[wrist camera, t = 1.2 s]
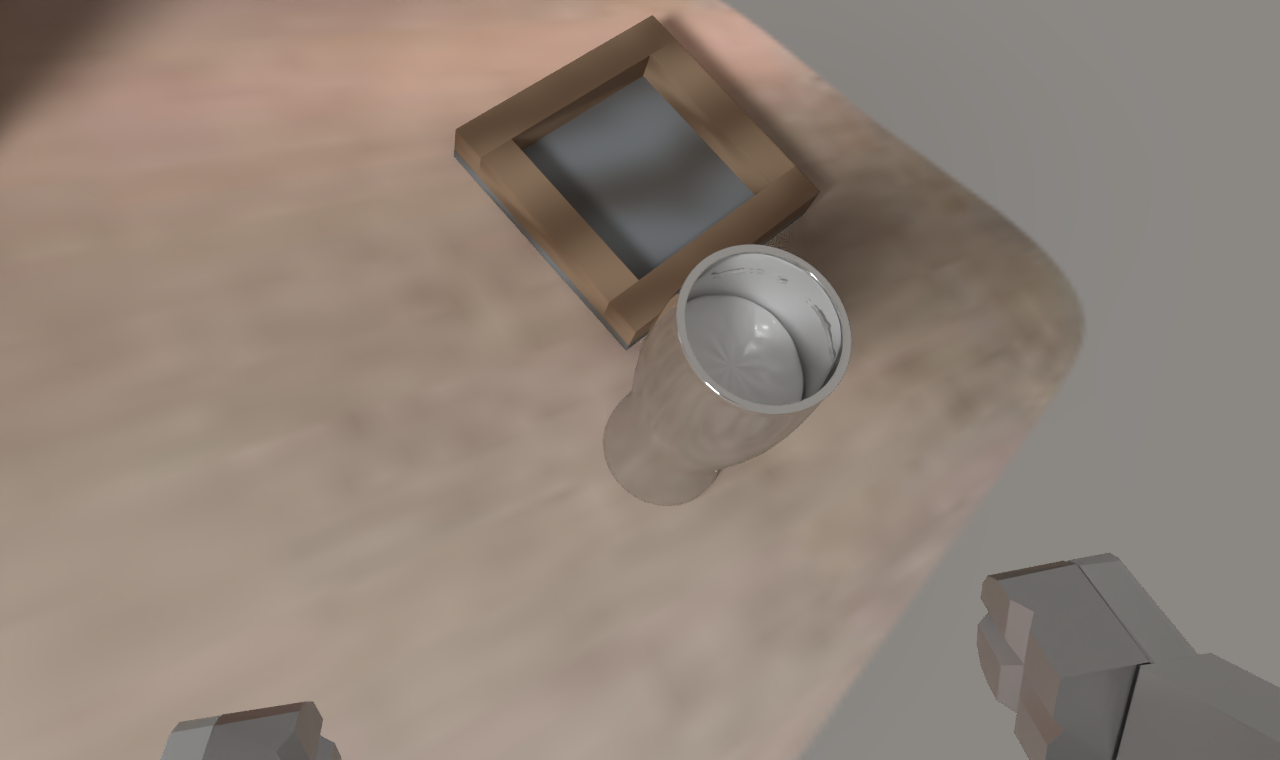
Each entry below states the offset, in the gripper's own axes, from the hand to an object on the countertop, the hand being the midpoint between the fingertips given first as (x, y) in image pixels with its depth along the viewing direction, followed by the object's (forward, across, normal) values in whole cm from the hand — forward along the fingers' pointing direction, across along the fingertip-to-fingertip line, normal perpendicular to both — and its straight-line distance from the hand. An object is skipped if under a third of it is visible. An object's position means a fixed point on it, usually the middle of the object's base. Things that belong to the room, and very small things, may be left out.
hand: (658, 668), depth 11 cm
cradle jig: (+41, -3, +10) cm, 42 cm away
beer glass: (+30, -2, +19) cm, 35 cm away
